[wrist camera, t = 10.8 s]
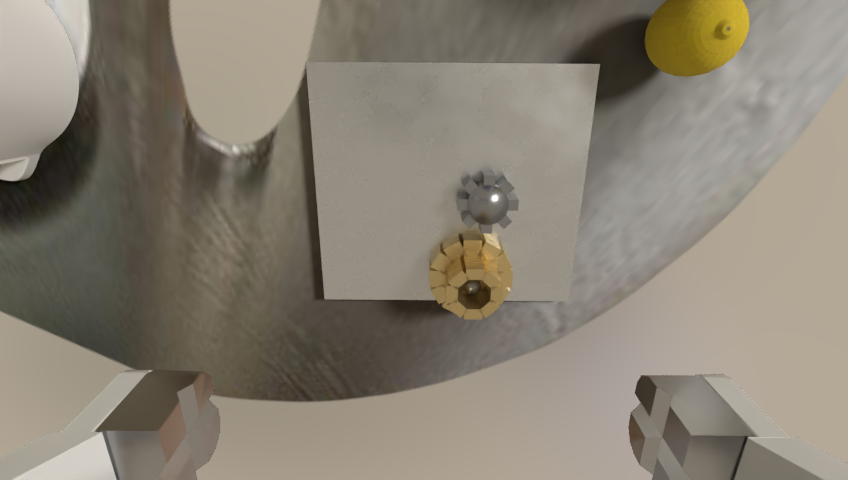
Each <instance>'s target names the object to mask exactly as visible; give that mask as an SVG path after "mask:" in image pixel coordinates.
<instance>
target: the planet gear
mask: <svg viewBox="0 0 848 480" xmlns="http://www.w3.org/2000/svg"><path fill="white" fill-rule="evenodd" d="M467 280H480V284H481V291H480V292H479V293H478V294H476V295H471V294H469V293H468V292H467V290H466V284H465V282H466V281H467ZM512 281H513V270H512V265H511V263H510V261H509V258H508V257H507V255H506V253H505V251H504V249H503V247H502V246H500V245H499V242H497V241H495V240H493V239H492V238H490V237H488V236H486V235H485V234H483V236H482V237H481V235H480V233H462V240H461V238H460V236H459V235H458V234H457V235H455V236H453V237H451V238H449V239H447V240H445V241H443V246H441V245H439V246H438V248H437V249H436V251H435V252H434V254H433V256H432V257H431V262H429V287H430V290H431V292H432V294H433V295H434V297H435V299H436V300H437V302H438V303H439V304H440V303H442V307H443V308H445V309H447V310H449V311H451V312H453V313H455V314H457V315H458V316H459V317H462V316H464V319H482V315H483V316H485V317H486V318H487V317H488V316H489V315H490V314H491V313H493V312H494V311H495V310H496V309H498V308H499V307H500V306H499V304H500V305H501V304H502V302H503V301H504V300H505V298H506V297H507V295H508V294H509V293H510V288H512Z"/></svg>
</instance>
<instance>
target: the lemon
mask: <svg viewBox="0 0 848 480" xmlns="http://www.w3.org/2000/svg"><path fill="white" fill-rule="evenodd" d="M748 30H749V15H748V10H747V8H746V6H745V4H744V2H743V1H742V0H667V1H665V2H664V3H663V4H662V5H661V6H660V7H659V8H658V9H657V10H656V11H655V13H654V15H653V16H652V18H651V19H650V21H649V24H648V27H647V29H646V34H645V48H646V51H647V54H648V57H649V59H650V60H651V61H652V63H653V64H654V65H655V66H656V67H657V68H659V69H660V70H662V71H663V72H666V73H669V74H672V75H675V76H696V75H700V74H705V73H708V72H710V71H712V70H714V69H716V68H719V67H721V66H722V65H724V64H725V63H726V62H728V61H729V60H730V59H731V58H733V57H734V55H735V54H736V53H737V52H738V51H739V50H740V48H741V46H742V45H743V43H744V41H745V39H746V36H747V33H748Z"/></svg>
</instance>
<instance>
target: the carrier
mask: <svg viewBox="0 0 848 480" xmlns="http://www.w3.org/2000/svg"><path fill="white" fill-rule="evenodd" d="M599 69H600V64H539V63H405V62H306V71H307V83H308V96H309V109H310V122H311V134H312V147H313V160H314V172H315V185H316V198H317V211H318V223H319V236H320V249H321V261H322V274H323V287H324V299H355V300H436V299H435V297H434V295H433V294H432V292H431V290H430V287H429V262H431V257H432V256H433V254H434V252H435V251H436V249H437V248H438V246H439V245H441V246H443V241H445V240H447V239H449V238H451V237H453V236H455V235H457V234H458V235H459V236H460V238H461V240H462V233H480V235H481V237H482V236H483V234H485V235H486V236H488V237H490V238H492V239H493V240H495V241H497V242H499V245H500V246H502V247H503V249H504V251H505V253H506V255H507V257H508V258H509V261H510V263H511V265H512V270H513V281H512V288H510V293H509V294H508V295H507V297H506V298H505V300H504V301H569V293H570V286H571V278H572V271H573V263H574V256H575V248H576V241H577V233H578V226H579V218H580V211H581V204H582V196H583V189H584V181H585V174H586V166H587V159H588V151H589V144H590V136H591V129H592V121H593V114H594V106H595V99H596V91H597V84H598V76H599ZM465 284H466V290H467V292H468V293H469V294H471V295H476V294H478V293H479V292H480V291H481V284H480V280H467V281H466V282H465Z"/></svg>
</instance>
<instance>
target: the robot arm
mask: <svg viewBox="0 0 848 480" xmlns="http://www.w3.org/2000/svg"><path fill="white" fill-rule="evenodd" d="M78 93H79V77H78V69H77V64H76V59H75V56H74V52H73V49H72V46H71V44H70V41H69V39H68V37H67V35H66V32H65V30H64V29H63V27H62V25H61V23H60V22H59V20H58V18H57V17H56V15H55V14H54V12H53V11H52V10H51V8H50V7H49V6H48V4H47V3H46V2H45V1H44V0H0V179H1V180H7V181H19V180H25V179H27V178H29V177H30V176H31V175H32V173H33V172H34V170H35V168H36V165H37V162H38V160H39V157H40V154H41V152H42V151H43V150H44V149H45V148H46V147H47V146H48V145H49V144H50V143H52V142H53V141H54V140H55V139H57V138H58V137H59V136H60V135H61V134H62V133H63V131H64V130H65V129H66V127H67V126H68V124H69V123H70V121H71V119H72V117H73V115H74V112H75V109H76V105H77V101H78ZM214 390H215V389H214V385H213V381H212V376H211V375H210V374H208V373H207V372H203V371H170V370H154V371H152V370H127V371H124V372H120V373H119V374H118V375H117V376H116V378H114V379H113V380H112V381H111V382H110V383H109V384H108V385H107V386H106V387H105V388H104V389H103V390H102V391H101V392H100V393H99V394H98V395H97V396H96V397H95V398H94V399H93V400H92V402H90V403H89V404H88V405H87V406H86V407H85V408H84V409H83V410H82V411H81V412H80V413H79V414H78V415H77V417H75V418H74V419H73V420H72V421H71V423H69V424H68V425H67V426H66V427H65V428H64V429H63V430H62V431H61V432H50V433H48V434H46V435H44V436H42V437H40V438H38V439H36V440H34V441H32V442H30V443H28V444H26V445H24V446H22V447H20V448H18V449H16V450H14V451H12V452H10V453H8V454H6V455H4V456H2V457H0V480H197V476H196V470H198V469H199V468H200V467H202V466H203V465H205V464H206V463H207V462H209V460H210V458H211V457H212V455H213V453H214V451H215V449H216V445H217V442H218V438H219V434H220V416H219V411H218V408H217V407H216V406H215V405H213V403H211V401H210V400H209V398H210V397H211V395H212V393H213V392H214ZM635 394H636V396H637V397H638V399H639V401H640V402H641V403H640V404H639V405H638V406H637V407H636V408H635V409H634V410H633V411H632V412H631V415H630V421H629V436H630V443H631V446H632V449H633V453H634V455H635V457H636V459H637V461H638V463H639V464H640V466H642V467H643V468H645V469H646V470H647V471H649V472H650V473H651V474H653V478H652V480H848V463H847V462H845V461H843V460H841V459H839V458H837V457H835V456H833V455H831V454H829V453H827V452H825V451H824V450H822V449H820V448H818V447H816V446H813V445H812V444H810V443H808V442H806V441H804V440H802V439H800V438H798V437H796V438H795V437H788V436H787V435H786V434H785V433H784V432H783V431H782V430H781V429H780V428H779V427H778V426H777V425H776V424H775V423H774V422H773V421H772V420H771V418H770V417H768V415H766V413H765V412H764V411H763V410H762V409H761V408H760V407H759V406H758V405H757V404H756V403H755V402H754V401H753V400H752V399H751V398H750V397H749V396H748V395H747V394H746V393H745V392H744V391H743V390H742V389H741V388H740V387H739V386H738V385H737V384H736V383H735V382H734V381H733V380H732V379H731V378H730V377H728V376H726V375H724V374H704V375H703V374H700V375H694V376H672V375H671V376H669V375H666V376H665V375H661V376H660V375H659V376H657V375H651V376H650V375H646V376H645V375H642V376H641V377H640V379H639V381H638V382H637V386H636V390H635Z"/></svg>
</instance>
